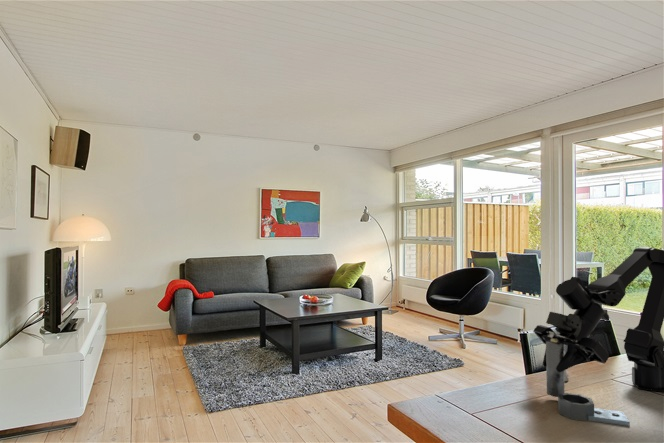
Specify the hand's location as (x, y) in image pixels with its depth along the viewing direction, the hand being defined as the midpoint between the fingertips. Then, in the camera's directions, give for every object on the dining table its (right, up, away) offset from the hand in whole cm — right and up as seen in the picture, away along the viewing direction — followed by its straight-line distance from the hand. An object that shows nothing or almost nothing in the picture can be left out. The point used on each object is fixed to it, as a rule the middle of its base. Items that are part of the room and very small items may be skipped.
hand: (550, 368), depth 107 cm
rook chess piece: (+11, -9, +16) cm, 21 cm away
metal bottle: (+1, -7, 0) cm, 7 cm away
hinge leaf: (+5, -8, -9) cm, 13 cm away
